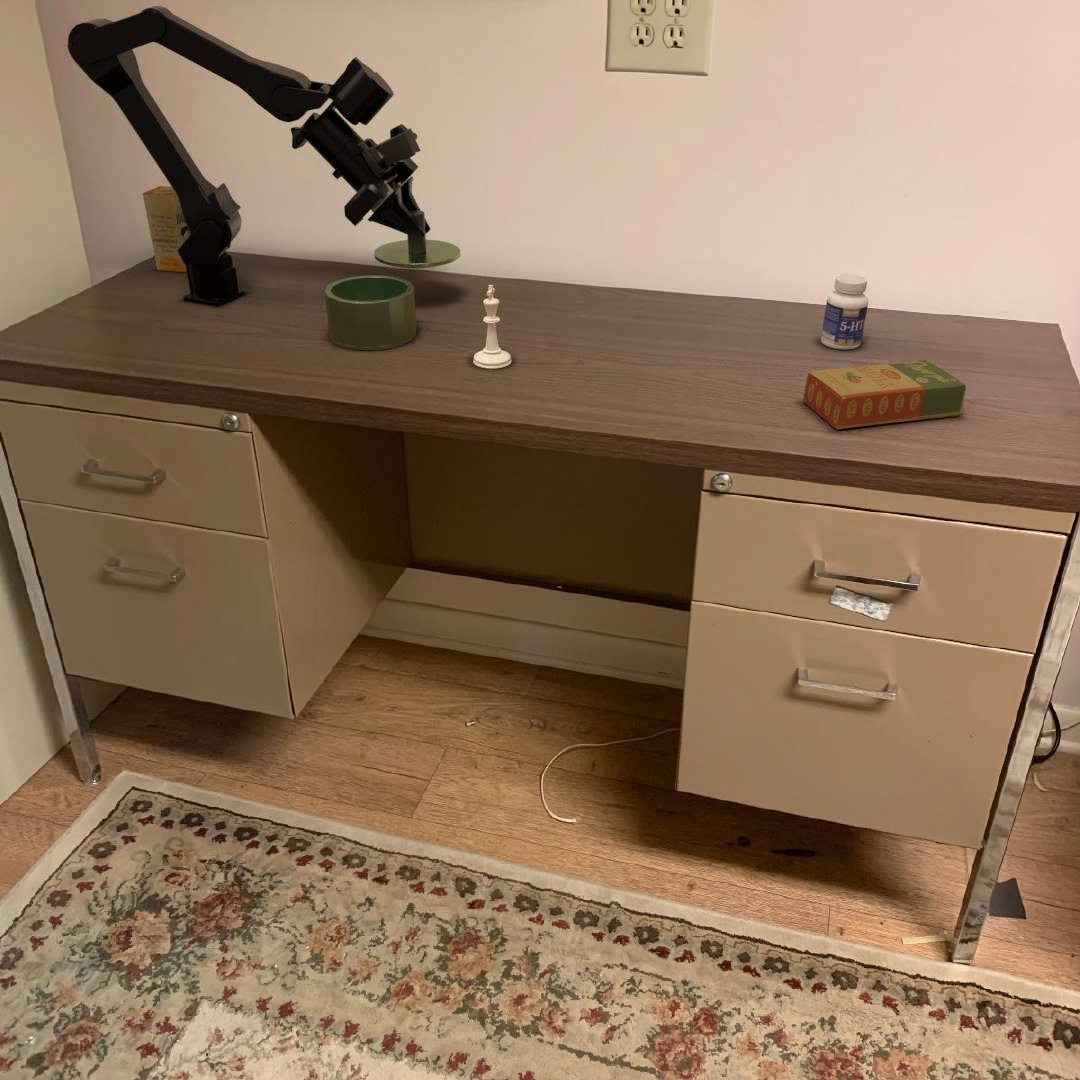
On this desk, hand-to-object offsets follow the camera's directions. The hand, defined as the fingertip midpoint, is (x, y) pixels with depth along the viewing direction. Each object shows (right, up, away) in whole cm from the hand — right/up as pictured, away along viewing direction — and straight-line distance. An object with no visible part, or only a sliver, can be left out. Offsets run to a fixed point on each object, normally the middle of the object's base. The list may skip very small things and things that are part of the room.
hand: (425, 234), depth 147 cm
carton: (+56, -29, -27) cm, 69 cm away
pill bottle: (+57, -17, -8) cm, 60 cm away
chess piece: (+10, -21, -15) cm, 27 cm away
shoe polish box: (-42, 0, +20) cm, 46 cm away
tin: (-6, -16, -7) cm, 18 cm away
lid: (-1, -2, +2) cm, 3 cm away
